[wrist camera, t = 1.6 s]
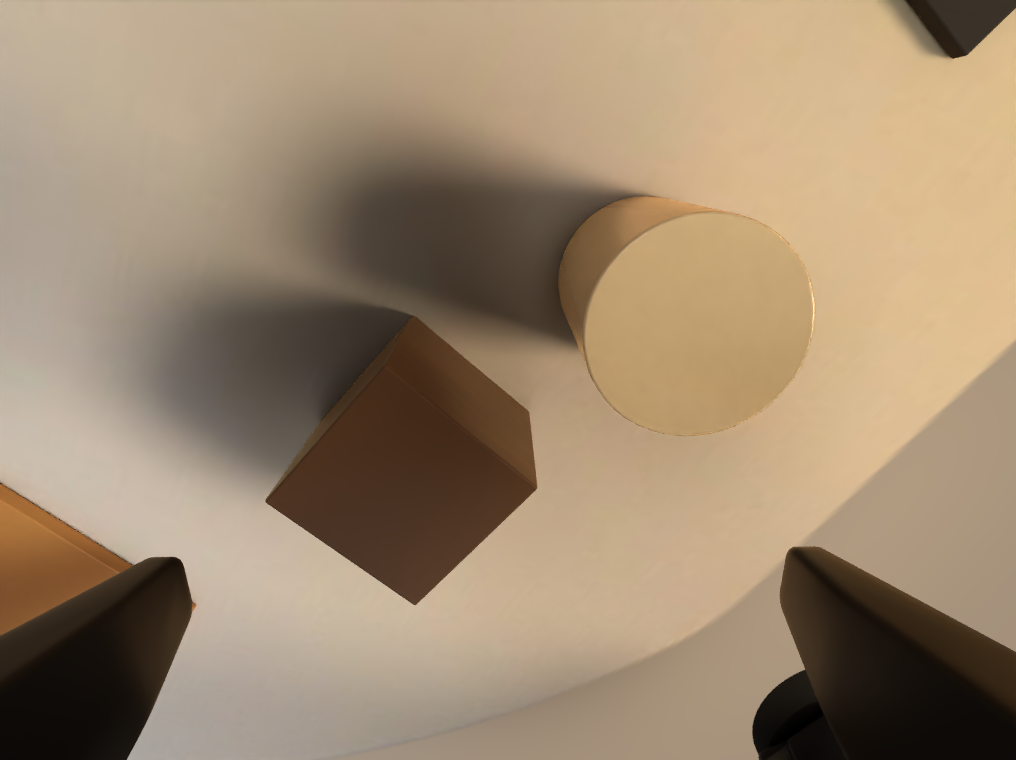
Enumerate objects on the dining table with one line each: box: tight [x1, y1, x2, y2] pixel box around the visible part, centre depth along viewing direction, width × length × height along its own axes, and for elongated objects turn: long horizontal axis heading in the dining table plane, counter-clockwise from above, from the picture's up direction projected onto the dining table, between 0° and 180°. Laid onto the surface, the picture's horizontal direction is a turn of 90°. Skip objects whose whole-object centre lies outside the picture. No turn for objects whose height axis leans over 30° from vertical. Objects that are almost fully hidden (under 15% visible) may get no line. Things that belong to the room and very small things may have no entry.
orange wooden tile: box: [0, 484, 196, 636], centre depth 22 cm, size 9×7×1 cm
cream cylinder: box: [558, 196, 815, 436], centre depth 16 cm, size 5×5×6 cm
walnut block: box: [265, 316, 537, 605], centre depth 18 cm, size 5×5×5 cm
